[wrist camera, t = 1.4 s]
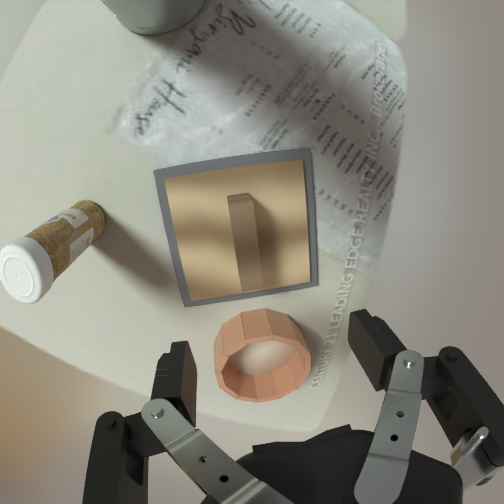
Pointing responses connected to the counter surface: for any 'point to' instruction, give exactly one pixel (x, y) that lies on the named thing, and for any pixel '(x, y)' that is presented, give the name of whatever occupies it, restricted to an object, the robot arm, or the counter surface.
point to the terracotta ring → (260, 356)
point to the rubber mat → (229, 163)
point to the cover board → (215, 229)
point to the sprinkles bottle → (49, 251)
